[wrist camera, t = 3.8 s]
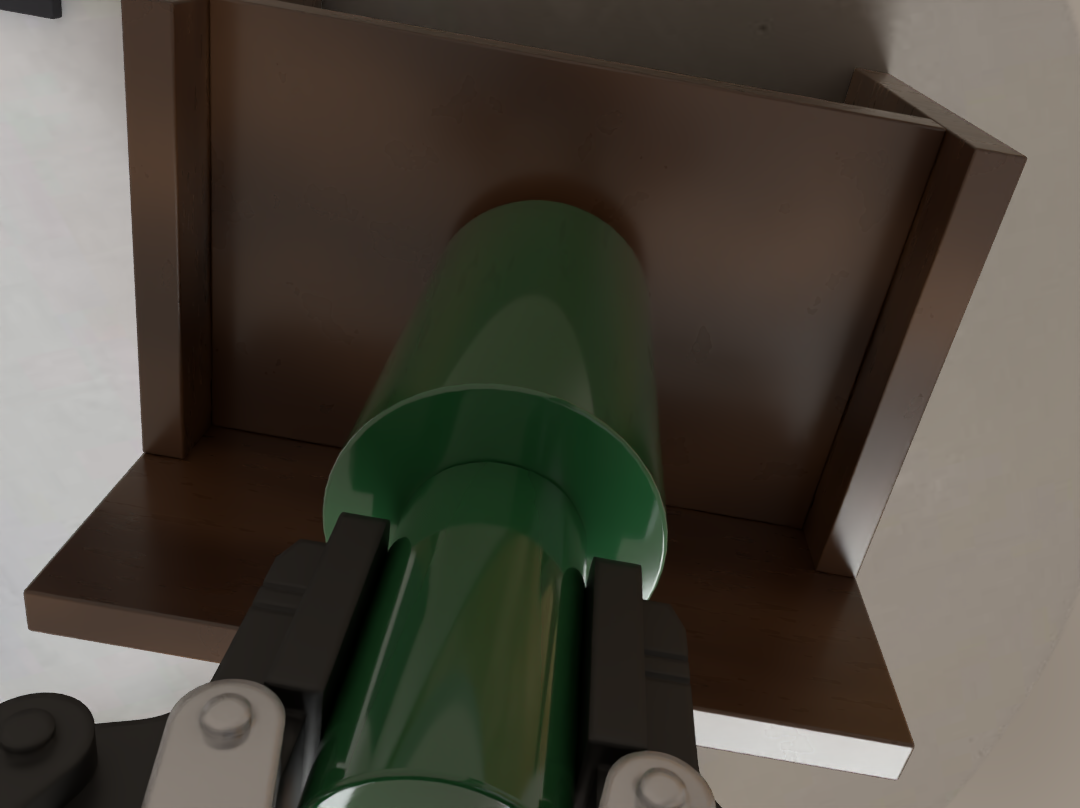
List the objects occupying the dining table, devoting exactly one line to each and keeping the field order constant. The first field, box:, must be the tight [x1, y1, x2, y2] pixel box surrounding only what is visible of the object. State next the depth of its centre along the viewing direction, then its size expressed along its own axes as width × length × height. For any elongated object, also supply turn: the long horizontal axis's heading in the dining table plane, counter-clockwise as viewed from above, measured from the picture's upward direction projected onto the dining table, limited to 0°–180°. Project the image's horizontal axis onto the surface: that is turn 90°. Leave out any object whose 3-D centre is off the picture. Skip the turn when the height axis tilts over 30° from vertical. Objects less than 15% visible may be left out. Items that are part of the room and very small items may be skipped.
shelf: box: [24, 0, 1027, 780], centre depth 26 cm, size 13×20×18 cm, turn 81°
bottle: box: [297, 200, 668, 808], centre depth 17 cm, size 6×6×16 cm
